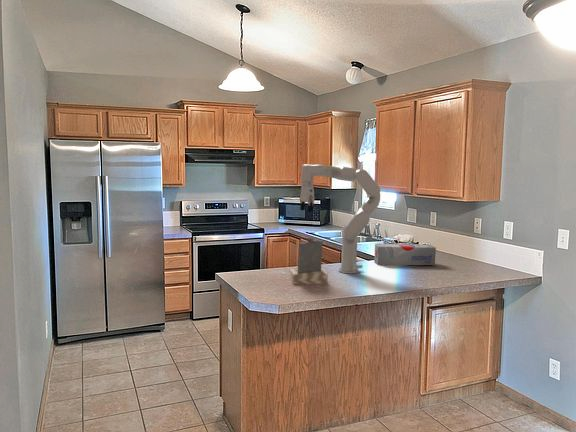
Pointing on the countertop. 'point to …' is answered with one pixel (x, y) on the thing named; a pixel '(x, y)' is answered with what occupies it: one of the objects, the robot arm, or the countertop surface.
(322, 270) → the chevron striped box
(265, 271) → the countertop surface
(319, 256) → the hip flask
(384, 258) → the soda pack
